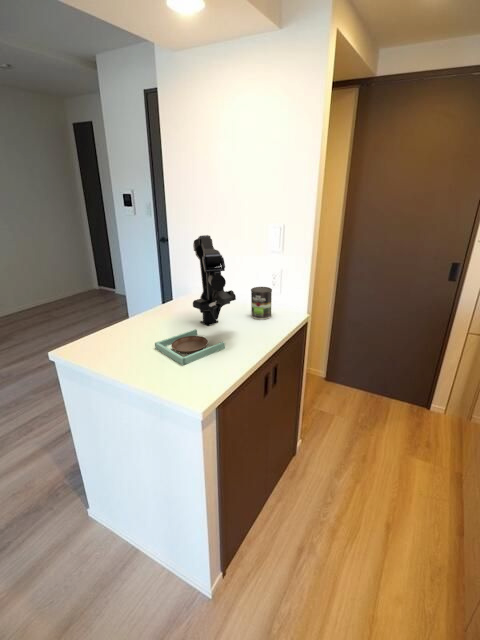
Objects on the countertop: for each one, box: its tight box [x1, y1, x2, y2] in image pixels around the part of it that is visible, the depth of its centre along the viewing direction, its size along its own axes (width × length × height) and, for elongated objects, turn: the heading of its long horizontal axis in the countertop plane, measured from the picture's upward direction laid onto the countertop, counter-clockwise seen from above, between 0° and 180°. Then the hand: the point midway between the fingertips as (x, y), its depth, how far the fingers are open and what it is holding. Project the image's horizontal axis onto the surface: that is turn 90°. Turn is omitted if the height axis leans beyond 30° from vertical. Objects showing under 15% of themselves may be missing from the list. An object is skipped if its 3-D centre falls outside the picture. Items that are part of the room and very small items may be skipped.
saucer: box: [170, 335, 209, 355], centre depth 134 cm, size 15×15×3 cm
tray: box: [154, 328, 226, 366], centre depth 134 cm, size 20×20×2 cm
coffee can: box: [250, 286, 273, 321], centre depth 165 cm, size 10×10×14 cm
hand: (215, 319), depth 140 cm, fingers closed
